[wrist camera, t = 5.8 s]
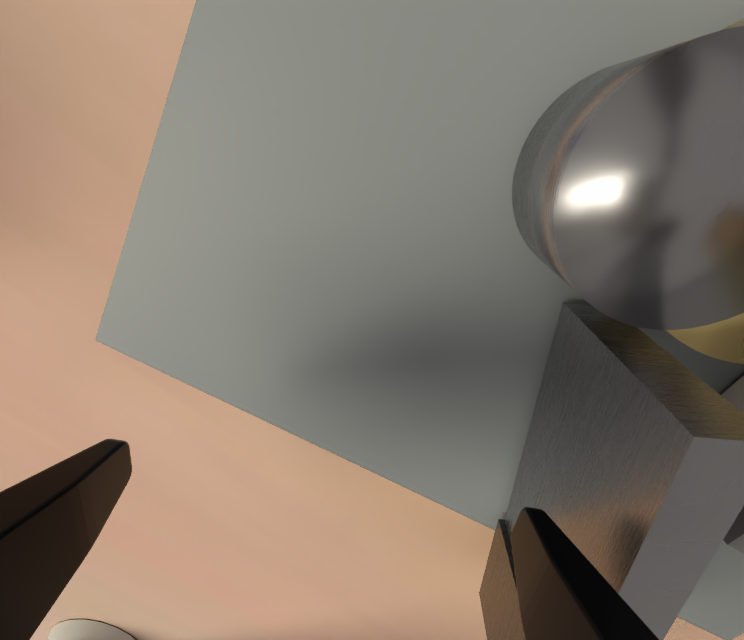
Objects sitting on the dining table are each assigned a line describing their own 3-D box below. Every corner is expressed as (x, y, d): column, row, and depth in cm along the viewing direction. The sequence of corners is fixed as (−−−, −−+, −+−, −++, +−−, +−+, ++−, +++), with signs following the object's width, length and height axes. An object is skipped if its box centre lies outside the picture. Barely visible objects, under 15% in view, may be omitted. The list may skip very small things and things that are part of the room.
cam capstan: (436, 583, 16) (453, 785, 11) (549, -12, 8) (775, -236, 3) (671, 606, 15) (797, 825, 11) (1019, 10, 8) (2075, -202, 3)
